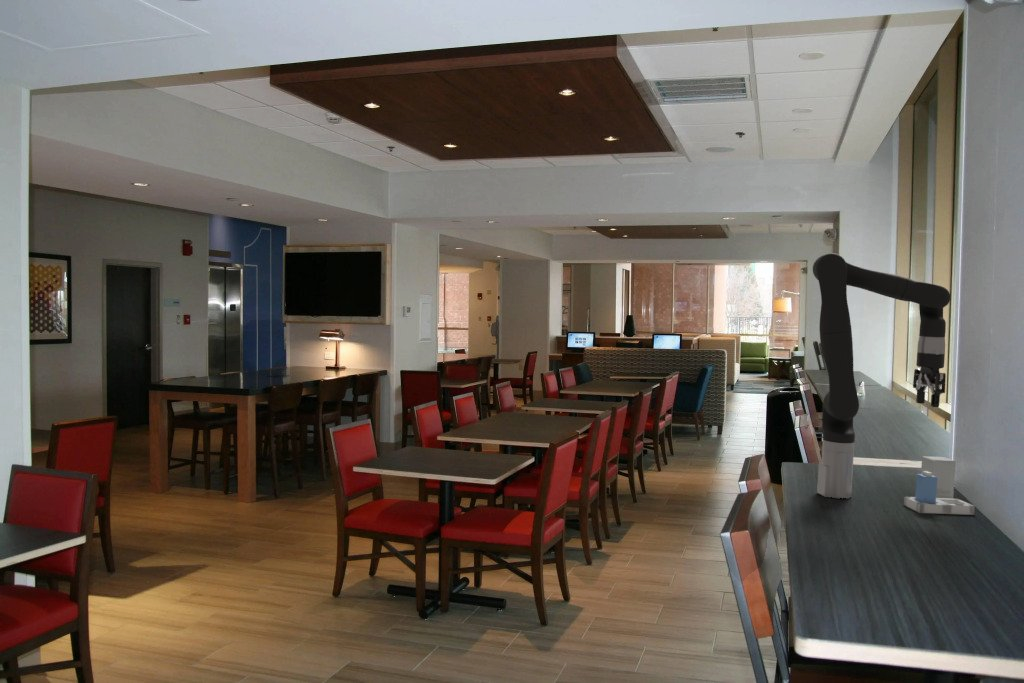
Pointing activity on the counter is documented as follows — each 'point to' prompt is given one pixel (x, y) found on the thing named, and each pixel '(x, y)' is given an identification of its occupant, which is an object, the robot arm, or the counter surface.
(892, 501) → the counter surface
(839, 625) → the counter surface
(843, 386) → the robot arm
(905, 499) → the jack panel
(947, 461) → the supplement box
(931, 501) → the plug
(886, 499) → the counter surface
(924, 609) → the counter surface
